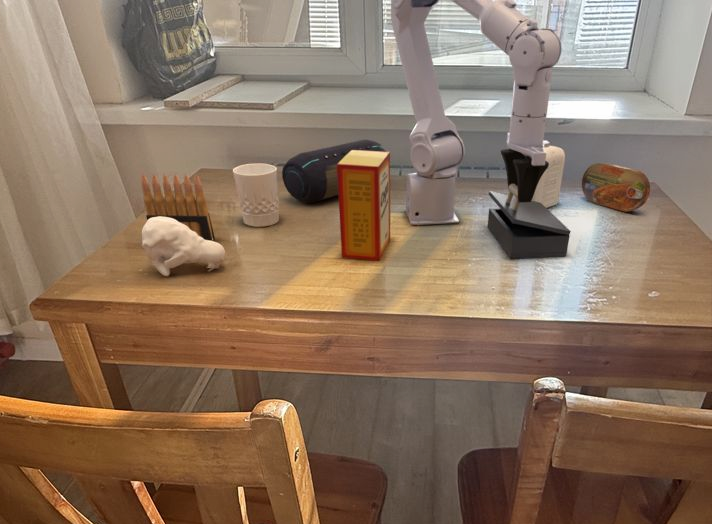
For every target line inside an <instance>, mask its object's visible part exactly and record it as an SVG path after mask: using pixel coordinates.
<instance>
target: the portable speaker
mask: <svg viewBox="0 0 712 524" xmlns="http://www.w3.org/2000/svg"><path fill="white" fill-rule="evenodd" d="M351 150H364V151H381V152H387V151H386V150H385V148H384V147H383V146H382V144H381V143H379V142H377V141H375V140H373V139H372V140H371V139H360V140H356V141H349V142H346V143H342V144H341V143H340V144H338V145H333V146H328V147H322V148H318V149H314V150H310V151H305V152H300V153H298V154H297V155H295V156H293V157H291V158H290V159H288V160H287V161H286V162H285V164H284V165H283V167H282V170H281V178H282V181H283V185H284V187H285V188H286V190H287V192H288V193H289V195H290V196H291V197H292V198H293V199H295V200H296V201H299V202H303V203H314V202H319V201H323V200H327V199H329V198H334V197H337V196H339V195H338V177H337V164H338V163H339V162H340V161H341V160H342V159H343V158H344V157H345V156H346V155H347V154H348V153H349V152H350V151H351Z"/></svg>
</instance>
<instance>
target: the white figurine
mask: <svg viewBox="0 0 712 524" xmlns="http://www.w3.org/2000/svg"><path fill="white" fill-rule="evenodd" d="M141 241H142V243H141V248H142V249H143V250H144V251H145V254H146V256H147V259H148V260H150V262H151V264H152V265H153V267H154V268H155V269H156V270H157V271H158V273H160V274H161V275H162V276H164V277H169V276H170V274H171V269H173V268H177V267H178V266H181V265H183V264H192V263H194V262H196V263H204V264H206V266H207V267H205V268H206V269H208V272H210V271H212V270H214V269H217V270H219V268H220V266H221V264H222V263H223V262H224V261H225V260H226V250H225V248H224V246H223V245H222V244H220V243H219V242H217V241H215V240H214V241H210V240H204V239H203V238H202V237H200V236H198V234H197V233H196V232H194V231H192V230H190V229H189V227H187V226H186V225H184V224H182V223H180V222H178V221H177V220H175V219H173V218H169V217H162V216H158V217H152V218H150V219H148V220H147V219H146V222H145V223H144V225H143V227H142V230H141Z"/></svg>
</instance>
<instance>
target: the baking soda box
mask: <svg viewBox="0 0 712 524" xmlns="http://www.w3.org/2000/svg"><path fill="white" fill-rule="evenodd" d="M337 177H338V195H337V196H338V209H339V210H338V211H339V212H338V213H339V231H340V246H341V247H340V248H341V259H352V260H366V261H375V262H377V261H378V262H380V261H381V259H382V257H383V255H384V253H385V251H386V249H387V247H388V245H389V244H390V241H391V152H390V151H386V152H381V151H364V150H351V151H350V152H349V153H348V154H347V155H346V156H345V157H344V158H343V159H342V160H341V161H340V162H339V163H338V164H337Z"/></svg>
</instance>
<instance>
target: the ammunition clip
mask: <svg viewBox="0 0 712 524" xmlns="http://www.w3.org/2000/svg"><path fill="white" fill-rule="evenodd" d="M193 179H194V180H193V183H194V191H193V186H192V183H191V180H190V178H189V176H188V175H187V173H185V174H184V176H183V187H184V192H183V189H182V184H181V181H180V180H179V177H178V175H177V174H176V173H174V174H173V179H172V183H173V190H174V192H173V190H172V185H171V183H170V180H169V178H168V176H167V175H166V173H163V175H162V186H163V191H162V188H161V186H160V182H159V180H158V177H157V176H156V174H155V173H152V176H151V184H152V190H151V188H150V183H149V181H148V178H147V176H146V175H145V173H141V177H140V180H141V181H140V183H141V189H142V195H143V203H144V207H145V212H146V221H147V220H148V219H150V218H152V217H158V216H162V217H169V218H173V219H175V220H177V221H178V222H180V223H182V224H184V225H186V226H187V227H189V229H190V230H192V231H194V232H196V233H197V234H198V236H200V237H202V238H203V239H204V240H210V241H214V242H215V240H216V237H215V232H214V228H213V224H212V220H211V215H210V212H209V209H208V204H207V199H206V196H205V193H204V190H203V185H202V181H201V179H200V177H199V176H198V174H197V173H195V174H194V178H193ZM152 192H153V193H152ZM163 193H164V195H163ZM194 193H195V195H194Z"/></svg>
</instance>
